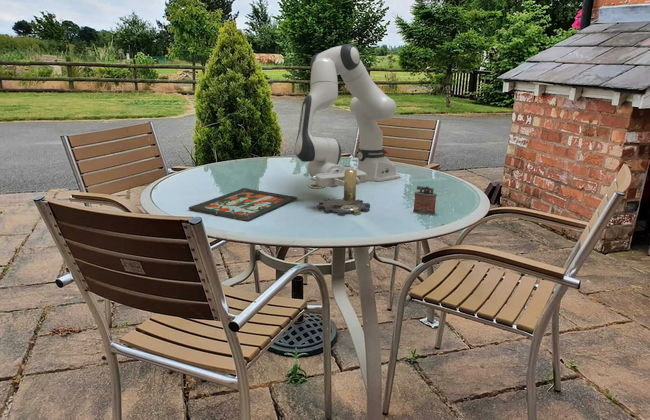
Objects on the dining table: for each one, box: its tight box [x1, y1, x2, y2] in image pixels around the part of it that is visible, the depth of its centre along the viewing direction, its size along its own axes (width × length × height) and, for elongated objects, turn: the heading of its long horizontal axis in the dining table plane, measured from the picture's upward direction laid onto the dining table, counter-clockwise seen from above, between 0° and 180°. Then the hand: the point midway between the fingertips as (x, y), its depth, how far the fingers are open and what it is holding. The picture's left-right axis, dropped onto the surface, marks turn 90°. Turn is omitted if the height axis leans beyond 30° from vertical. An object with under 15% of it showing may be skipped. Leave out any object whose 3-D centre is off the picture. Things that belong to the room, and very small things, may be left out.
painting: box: [187, 187, 298, 222], centre depth 186 cm, size 28×35×2 cm
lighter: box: [412, 185, 437, 215], centre depth 178 cm, size 8×3×10 cm, turn 71°
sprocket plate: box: [316, 197, 371, 217], centre depth 184 cm, size 20×20×1 cm
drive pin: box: [343, 169, 357, 201], centre depth 177 cm, size 4×4×11 cm
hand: (351, 183), depth 176 cm, fingers closed on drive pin, 4 cm apart
